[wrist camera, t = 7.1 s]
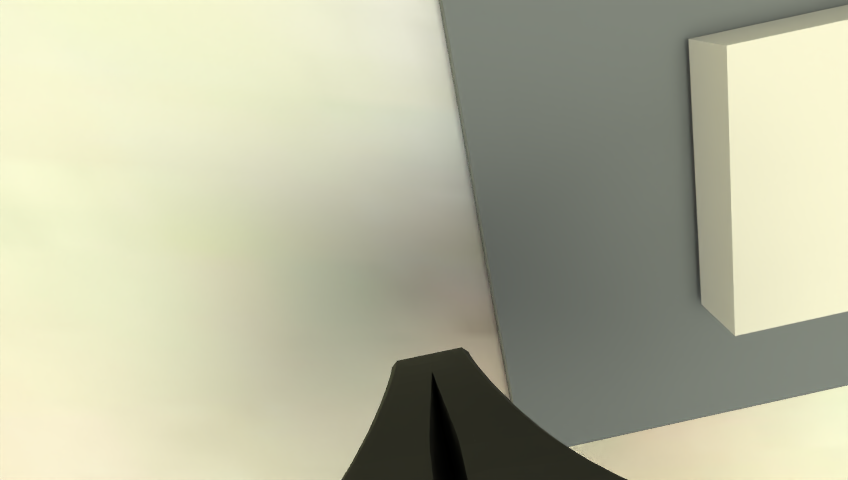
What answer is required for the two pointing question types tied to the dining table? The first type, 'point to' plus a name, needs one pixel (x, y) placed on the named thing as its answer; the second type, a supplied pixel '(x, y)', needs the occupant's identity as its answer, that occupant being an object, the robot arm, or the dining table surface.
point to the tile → (772, 169)
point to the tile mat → (610, 215)
